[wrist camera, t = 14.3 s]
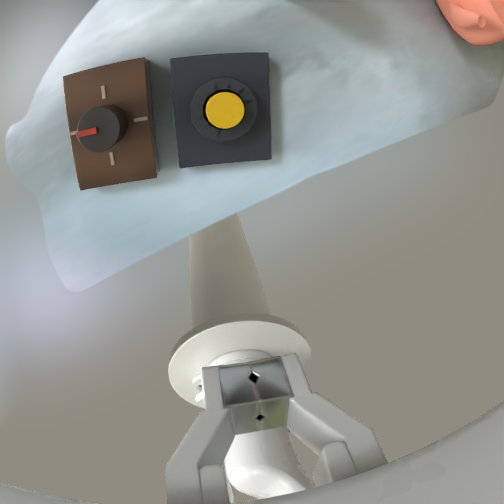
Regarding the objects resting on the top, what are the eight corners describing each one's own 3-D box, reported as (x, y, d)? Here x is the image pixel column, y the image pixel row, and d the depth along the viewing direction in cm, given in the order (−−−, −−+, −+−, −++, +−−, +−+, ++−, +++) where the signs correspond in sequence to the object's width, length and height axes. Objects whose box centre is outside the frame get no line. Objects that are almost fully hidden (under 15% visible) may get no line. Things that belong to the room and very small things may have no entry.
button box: (267, 155, 35) (275, 163, 32) (180, 163, 34) (179, 172, 31) (263, 54, 29) (272, 50, 26) (171, 60, 28) (168, 56, 25)
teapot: (390, -10, 26) (452, -26, 16) (455, -47, 21) (509, -57, 11) (442, 68, 32) (506, 76, 22) (496, 19, 27) (550, 22, 17)
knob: (125, 100, 27) (116, 102, 24) (130, 142, 29) (122, 148, 26) (85, 109, 26) (72, 112, 23) (91, 149, 28) (79, 157, 25)
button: (242, 125, 30) (245, 127, 28) (206, 128, 29) (207, 130, 28) (241, 90, 28) (243, 91, 27) (204, 93, 28) (205, 93, 26)
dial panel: (159, 170, 34) (156, 178, 31) (87, 182, 33) (79, 191, 30) (148, 59, 28) (144, 56, 25) (72, 76, 26) (62, 76, 24)
